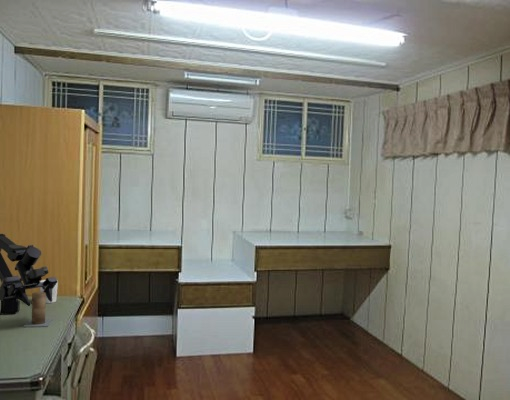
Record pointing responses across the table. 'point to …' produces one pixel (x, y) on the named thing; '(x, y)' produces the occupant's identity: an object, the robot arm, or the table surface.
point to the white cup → (54, 293)
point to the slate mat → (46, 324)
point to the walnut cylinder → (38, 307)
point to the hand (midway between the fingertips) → (40, 303)
